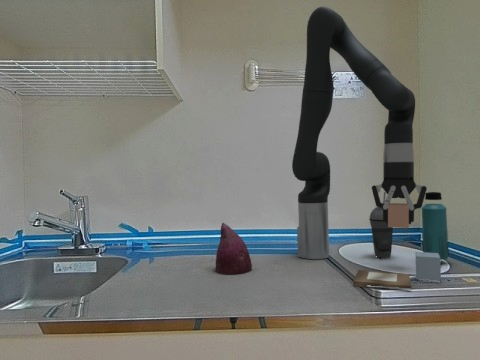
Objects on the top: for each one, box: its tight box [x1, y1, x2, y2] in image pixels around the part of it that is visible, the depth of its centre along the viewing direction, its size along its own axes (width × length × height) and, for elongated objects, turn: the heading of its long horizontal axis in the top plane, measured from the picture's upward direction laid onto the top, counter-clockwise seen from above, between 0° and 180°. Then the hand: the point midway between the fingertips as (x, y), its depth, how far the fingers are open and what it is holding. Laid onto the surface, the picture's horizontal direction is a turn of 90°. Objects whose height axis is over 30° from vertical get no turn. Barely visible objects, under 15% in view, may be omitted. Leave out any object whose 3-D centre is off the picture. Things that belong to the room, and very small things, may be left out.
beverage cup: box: [368, 191, 394, 259], centre depth 110 cm, size 7×7×20 cm
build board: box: [352, 269, 412, 289], centre depth 85 cm, size 12×10×1 cm
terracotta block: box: [388, 202, 410, 229], centre depth 97 cm, size 5×5×6 cm
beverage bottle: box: [421, 191, 450, 261], centre depth 101 cm, size 6×7×20 cm
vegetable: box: [215, 221, 253, 276], centre depth 100 cm, size 10×10×15 cm
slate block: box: [414, 251, 442, 282], centre depth 86 cm, size 5×5×6 cm
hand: (398, 223), depth 97 cm, fingers closed on terracotta block, 5 cm apart
